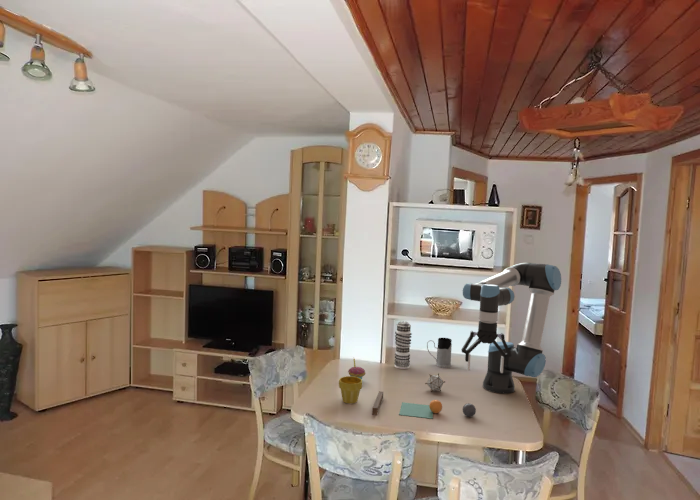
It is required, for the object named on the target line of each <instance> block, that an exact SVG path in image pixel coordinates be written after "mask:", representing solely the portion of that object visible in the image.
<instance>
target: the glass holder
mask: <svg viewBox="0 0 700 500" xmlns="http://www.w3.org/2000/svg"><path fill="white" fill-rule="evenodd" d="M429 342H433V347H434V349H437V351H436V357H435V356H434V355H433V354H432V353H431V352H430V350H429V347H428V346H429V345H428V343H429ZM452 342H453V341H452V339H451V338H449V337H439V338H437V347H436V344H435V341H434V340H428V341H427V342H426V349H427V351H428V353H429V354H430V356H431V357H433V359H434V360H435V361H436V363H435V366H436V367H439V368H443V369H444V368H445V369H446V368H451V367H452V363H451V362H452V345H453V344H452Z"/></svg>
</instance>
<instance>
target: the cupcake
mask: <svg viewBox="0 0 700 500" xmlns="http://www.w3.org/2000/svg"><path fill="white" fill-rule="evenodd" d="M352 359H353V360H352V361H353V367H350V368H349V369H348V371H347V373H348V376H354V377H358V378H360V379H362V380H363V378H364V376H365V375H366V370H365V369H364V368H363V367H361V366H356V359H355V358H352Z"/></svg>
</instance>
